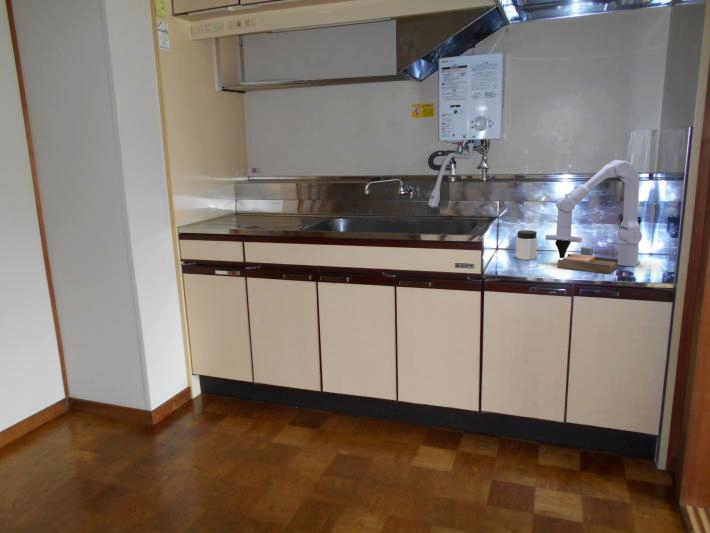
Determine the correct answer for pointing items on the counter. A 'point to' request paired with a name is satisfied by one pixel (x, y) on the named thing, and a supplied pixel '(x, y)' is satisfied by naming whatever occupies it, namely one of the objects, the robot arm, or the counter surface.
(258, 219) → the counter surface
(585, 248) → the block
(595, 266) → the board
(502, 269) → the counter surface
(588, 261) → the lid
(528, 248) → the jar
